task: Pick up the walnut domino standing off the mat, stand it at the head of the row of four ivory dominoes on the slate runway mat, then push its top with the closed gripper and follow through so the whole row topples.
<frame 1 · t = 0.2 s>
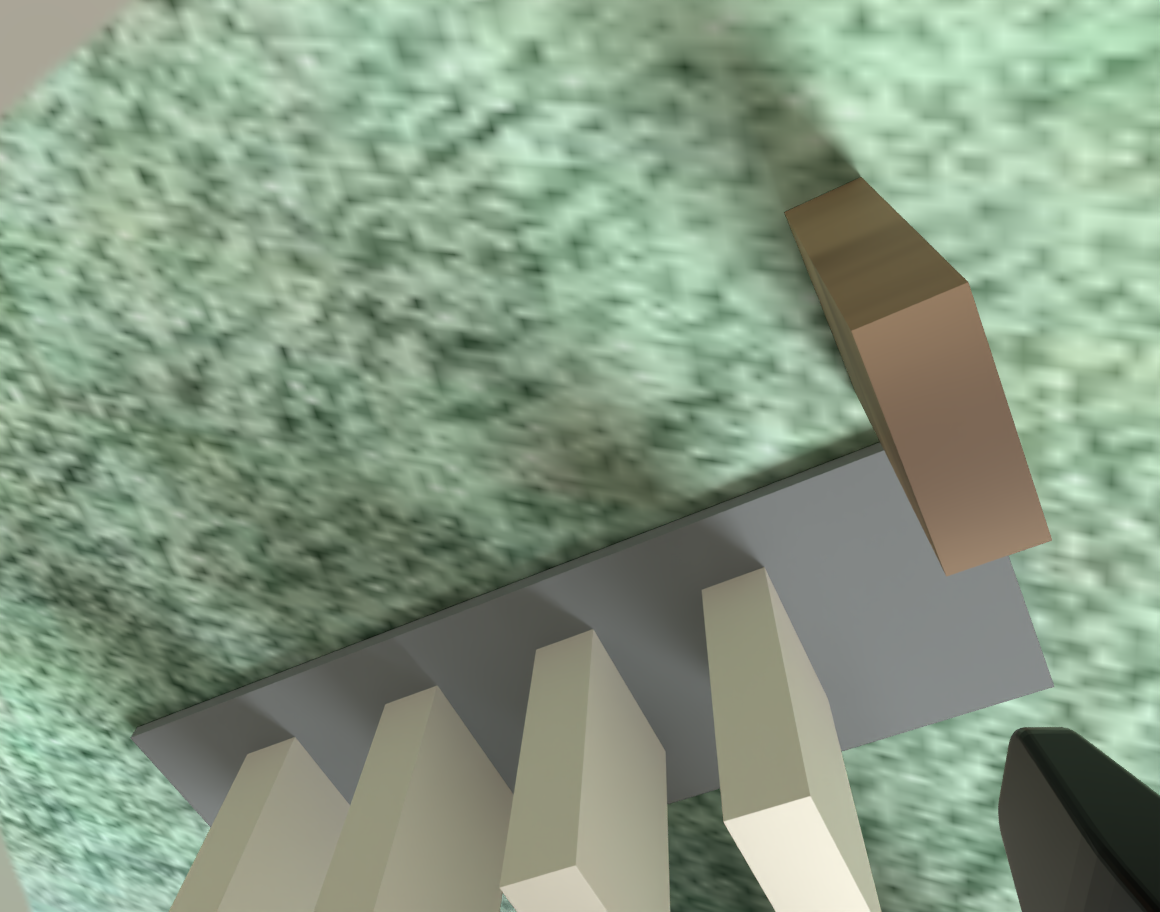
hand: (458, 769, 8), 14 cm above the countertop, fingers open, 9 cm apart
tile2: (766, 646, 24), resting on runway mat
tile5: (315, 799, 27), resting on runway mat
walnut domino: (858, 291, 20), on the countertop
tile4: (452, 752, 26), resting on runway mat
tile3: (602, 701, 25), resting on runway mat
runway mat: (569, 703, 25), on the countertop
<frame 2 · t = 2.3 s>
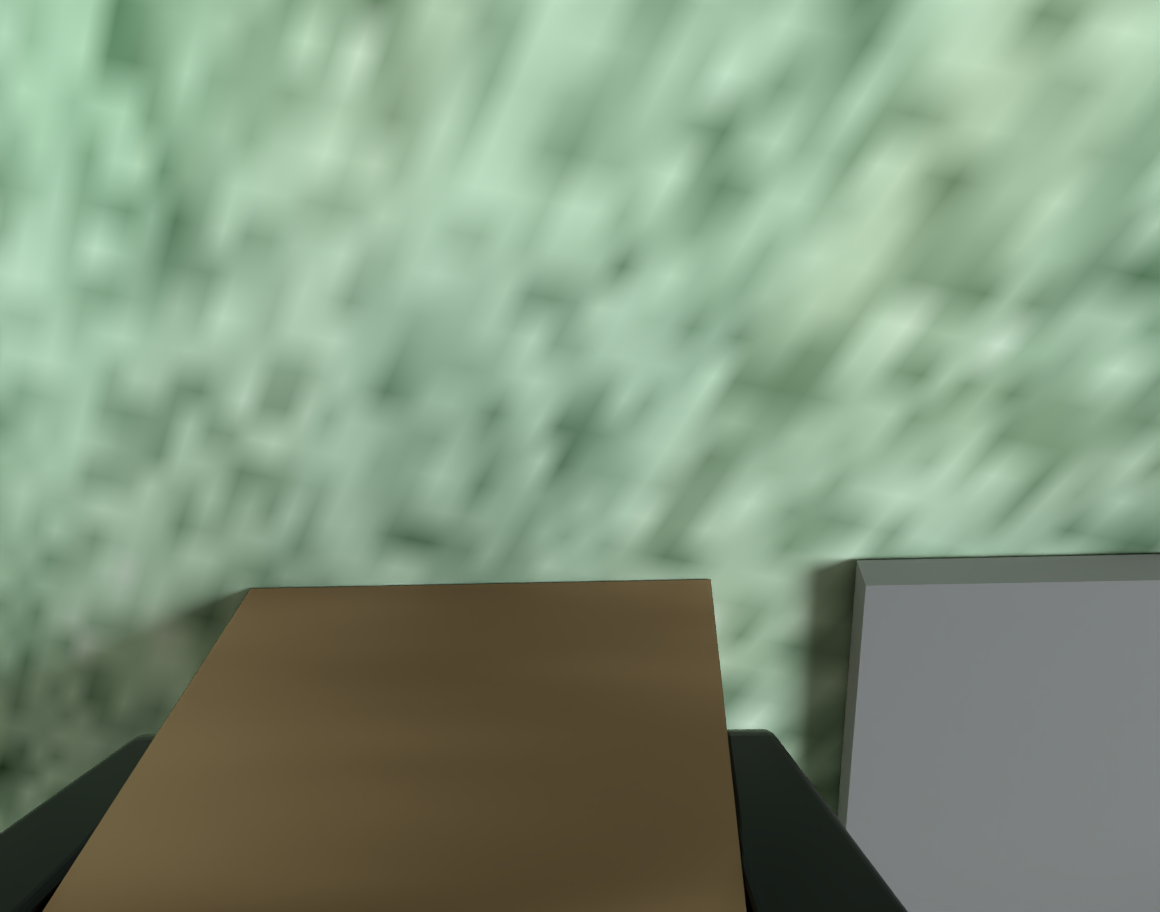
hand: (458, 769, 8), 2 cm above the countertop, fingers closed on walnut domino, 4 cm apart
walnut domino: (485, 652, 9), on the countertop, touching gripper
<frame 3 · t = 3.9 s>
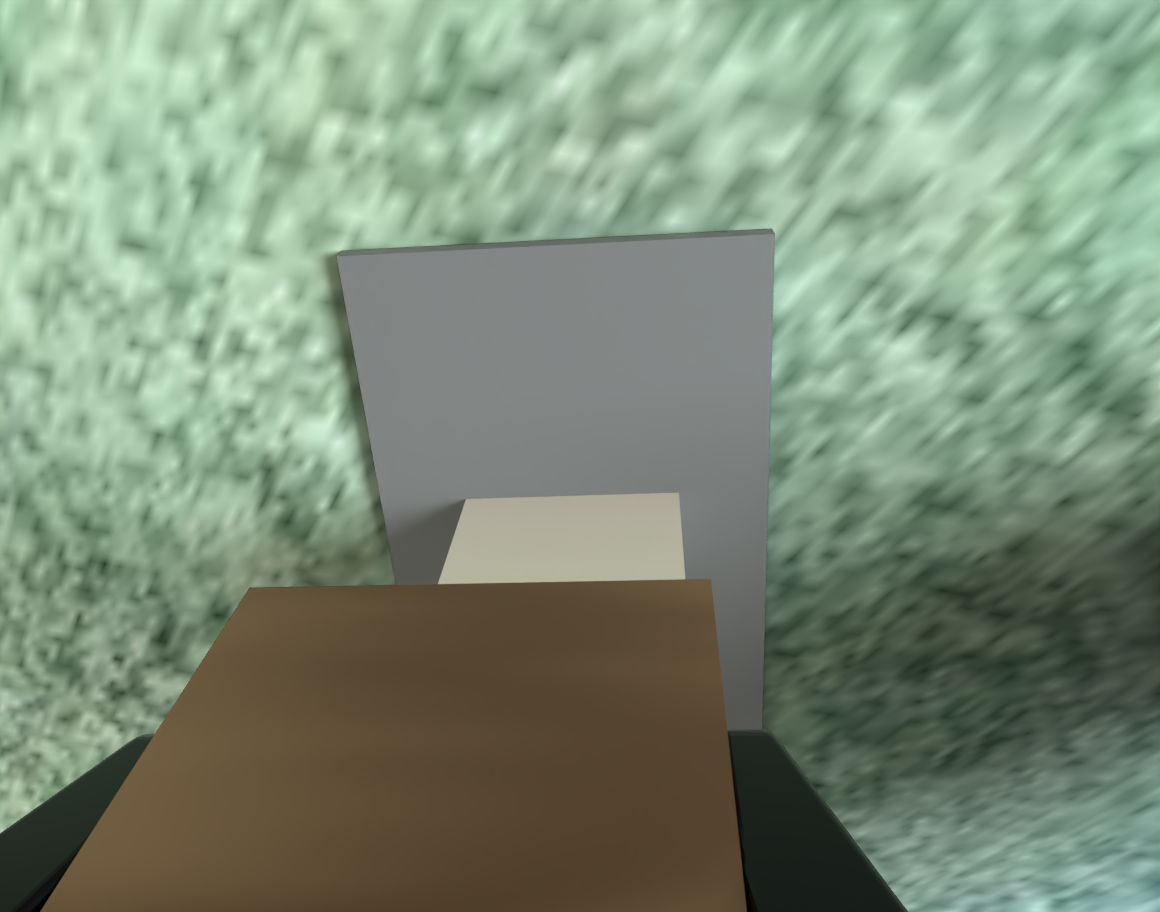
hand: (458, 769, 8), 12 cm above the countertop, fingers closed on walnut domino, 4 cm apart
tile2: (574, 529, 20), resting on runway mat
walnut domino: (484, 651, 9), point 10 cm above the countertop, touching gripper
runway mat: (590, 718, 23), on the countertop
when the fingers open (3 cm above the countertop, at t = 5.9 s): walnut domino stays where it is, resting on runway mat.
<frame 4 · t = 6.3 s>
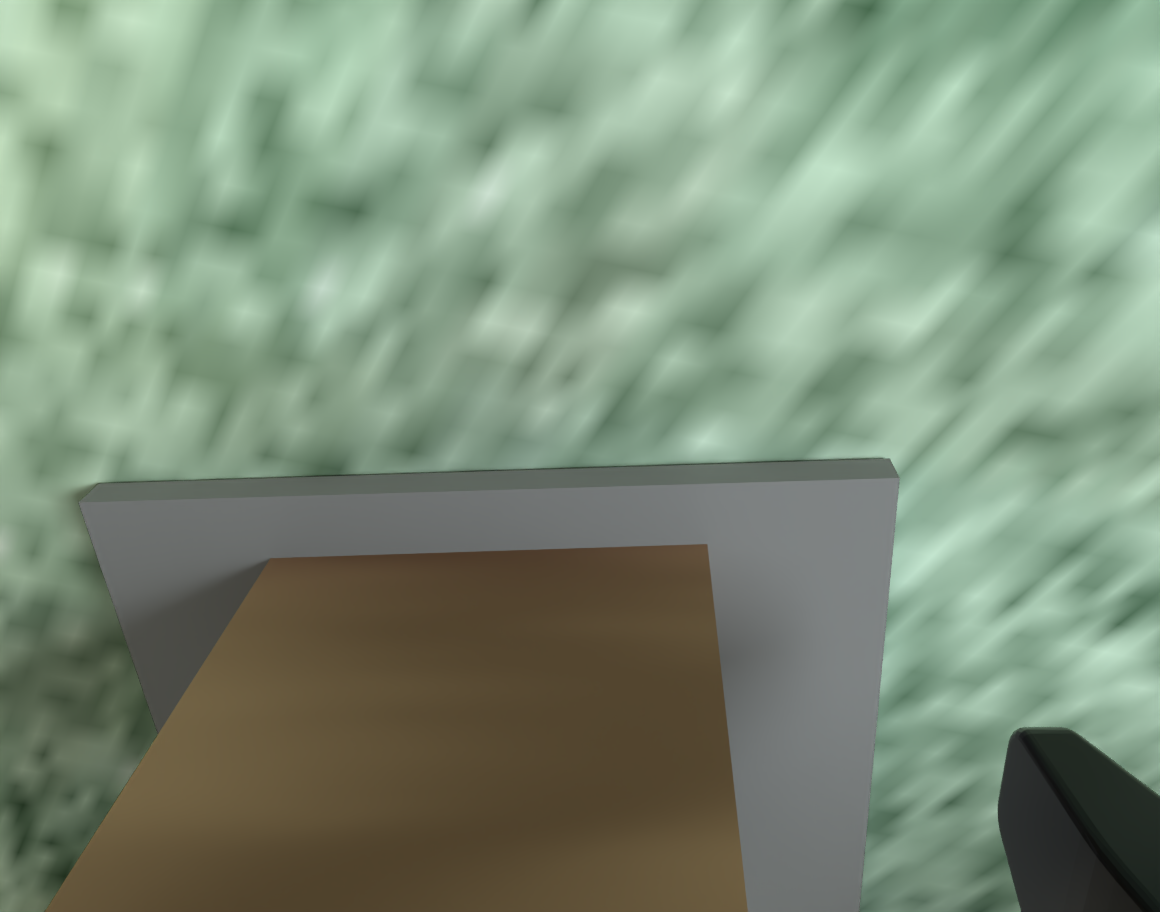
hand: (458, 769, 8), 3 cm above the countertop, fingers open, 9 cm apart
walnut domino: (493, 617, 10), resting on runway mat
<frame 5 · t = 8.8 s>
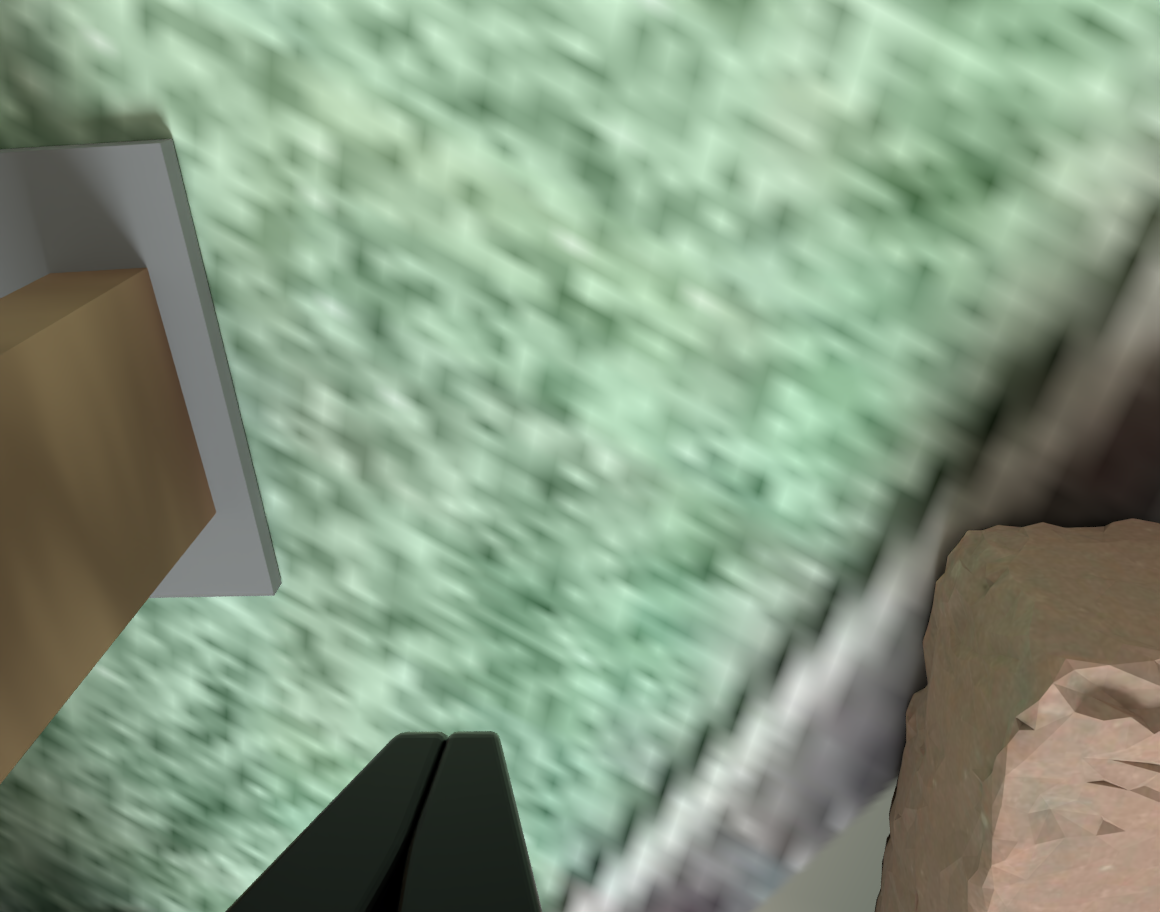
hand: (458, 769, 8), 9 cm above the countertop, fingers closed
walnut domino: (137, 399, 16), resting on runway mat
brick: (1075, 836, 20), on the countertop
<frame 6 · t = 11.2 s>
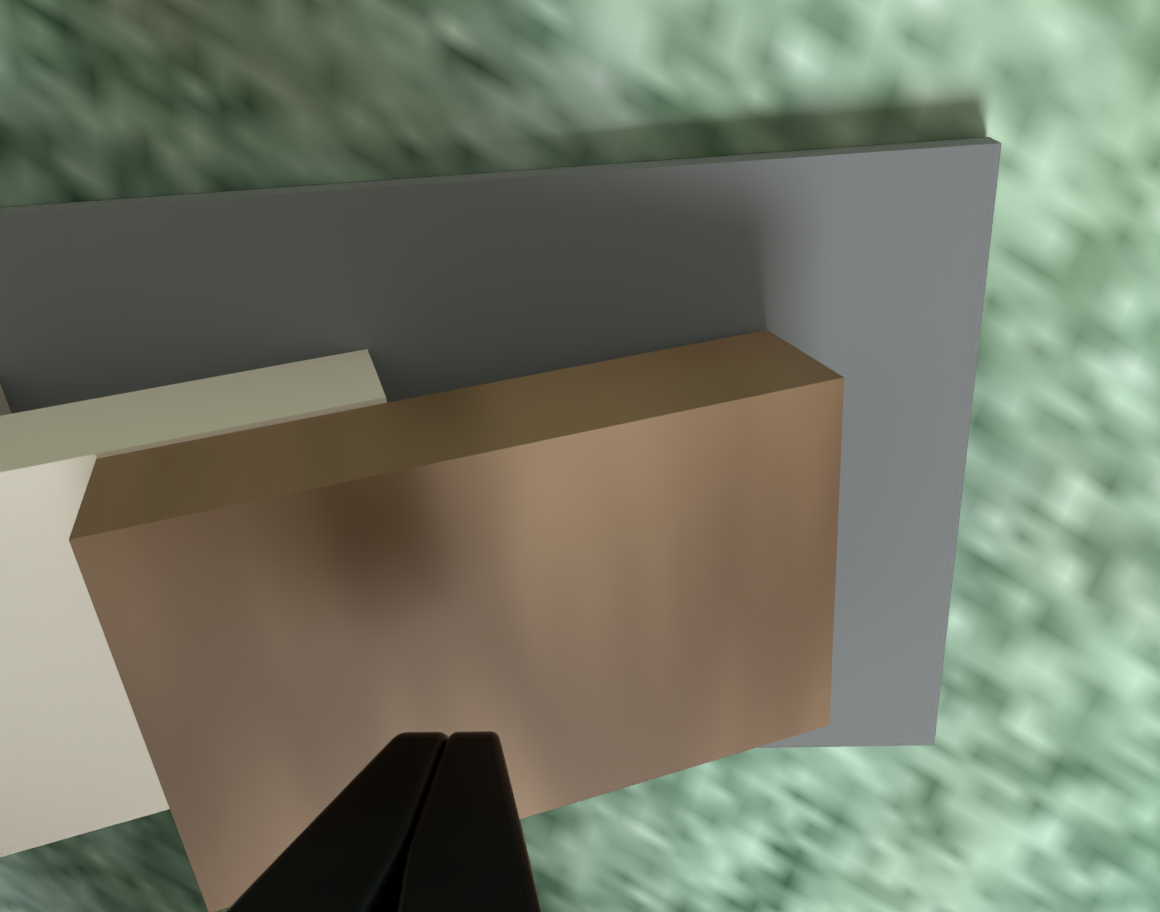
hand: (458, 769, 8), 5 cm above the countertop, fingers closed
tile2: (409, 544, 11), point 1 cm above the countertop, tilted 68°, touching runway mat, tile3, walnut domino
walnut domino: (799, 532, 11), point 1 cm above the countertop, tilted 69°, touching runway mat, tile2
runway mat: (67, 511, 13), on the countertop
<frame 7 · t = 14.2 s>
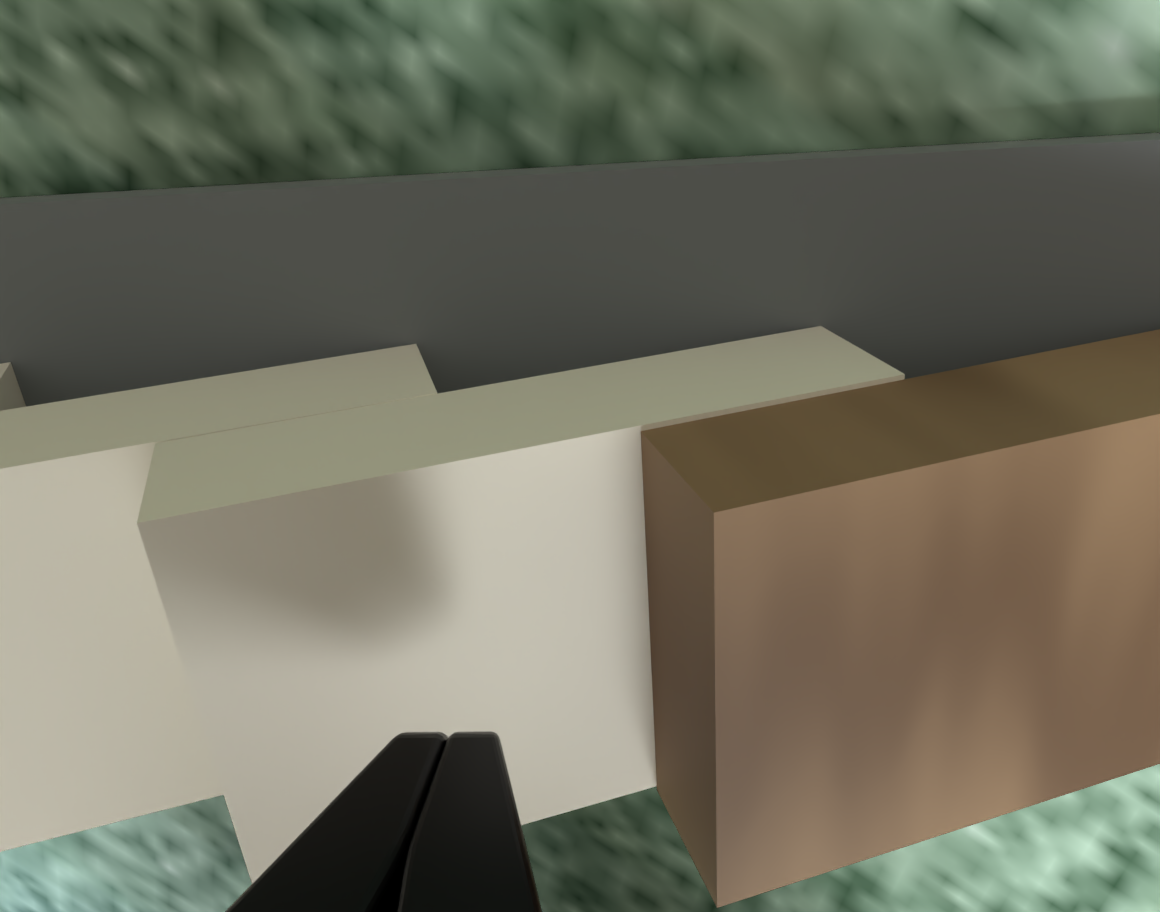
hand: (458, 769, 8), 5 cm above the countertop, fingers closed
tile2: (848, 529, 11), point 1 cm above the countertop, tilted 70°, touching runway mat, tile3, walnut domino
tile4: (56, 551, 12), point 1 cm above the countertop, tilted 68°, touching runway mat, tile3, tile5
tile3: (452, 540, 11), point 1 cm above the countertop, tilted 70°, touching runway mat, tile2, tile4
runway mat: (443, 492, 12), on the countertop
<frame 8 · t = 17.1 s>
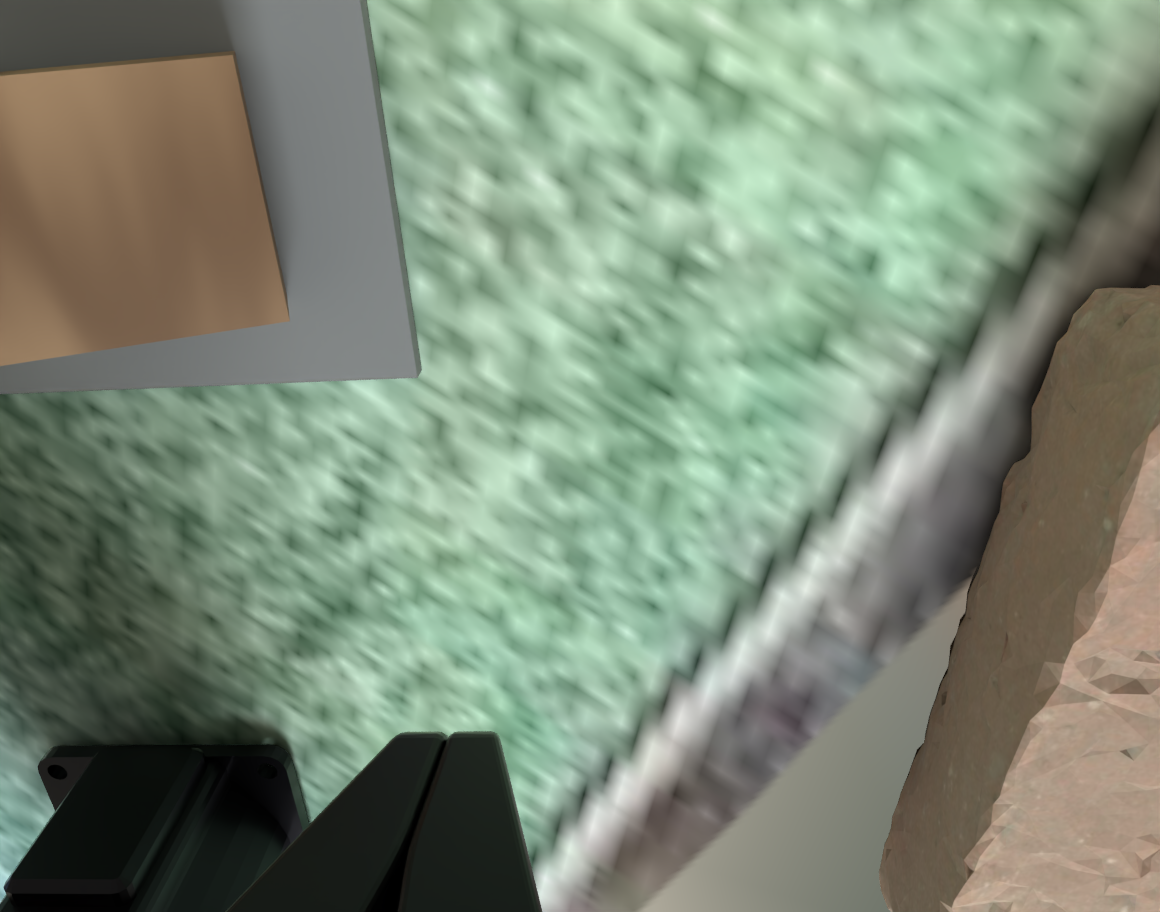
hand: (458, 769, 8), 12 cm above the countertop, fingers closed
walnut domino: (262, 188, 17), point 1 cm above the countertop, tilted 69°, touching runway mat, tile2
brick: (1130, 633, 22), on the countertop
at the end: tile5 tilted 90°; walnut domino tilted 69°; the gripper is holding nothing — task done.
